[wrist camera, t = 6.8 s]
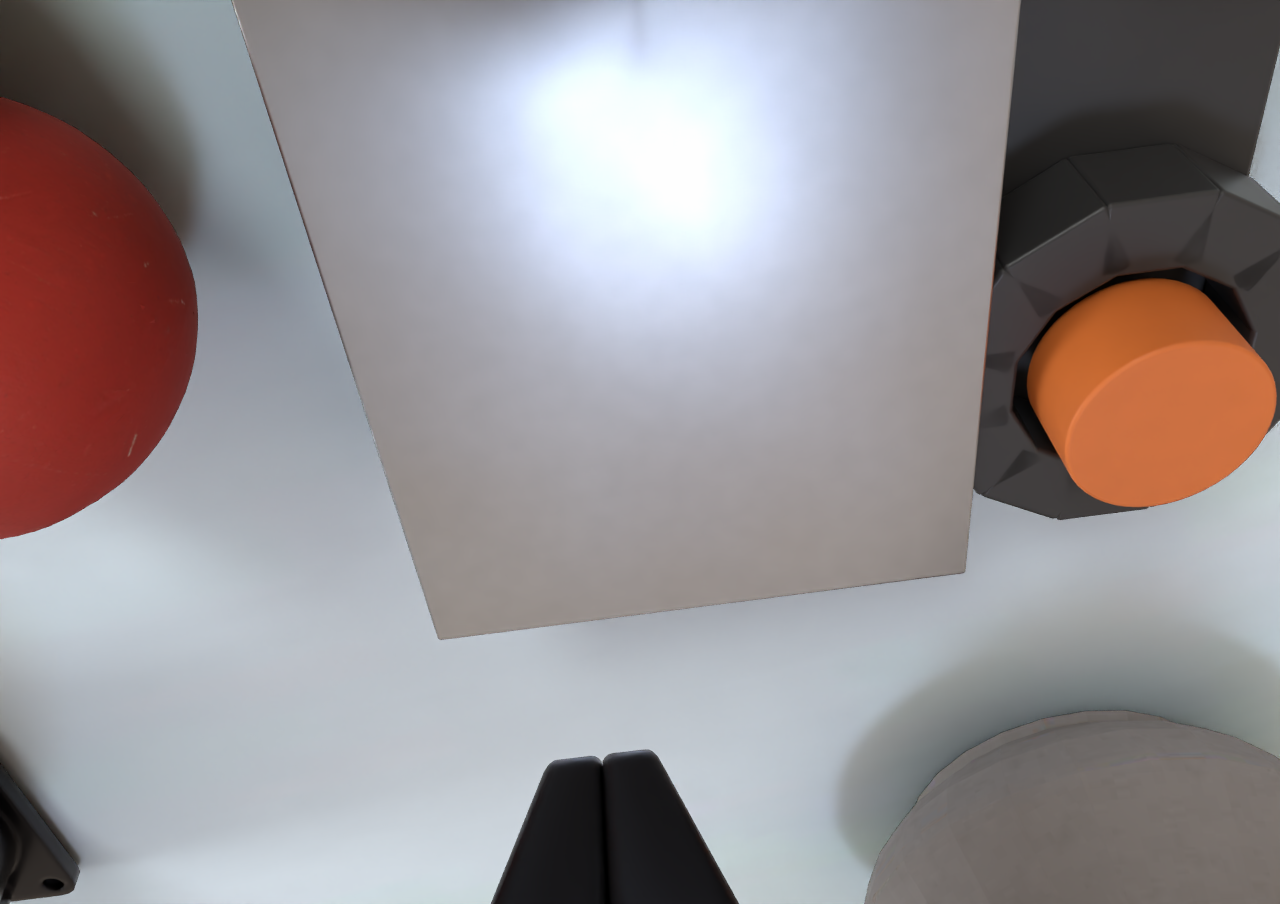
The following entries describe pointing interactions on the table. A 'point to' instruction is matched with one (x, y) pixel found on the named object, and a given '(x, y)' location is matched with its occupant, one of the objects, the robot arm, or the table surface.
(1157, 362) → the button
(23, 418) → the kendama
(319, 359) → the table surface
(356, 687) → the table surface
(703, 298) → the pan
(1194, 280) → the scale
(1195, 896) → the coffee pot
